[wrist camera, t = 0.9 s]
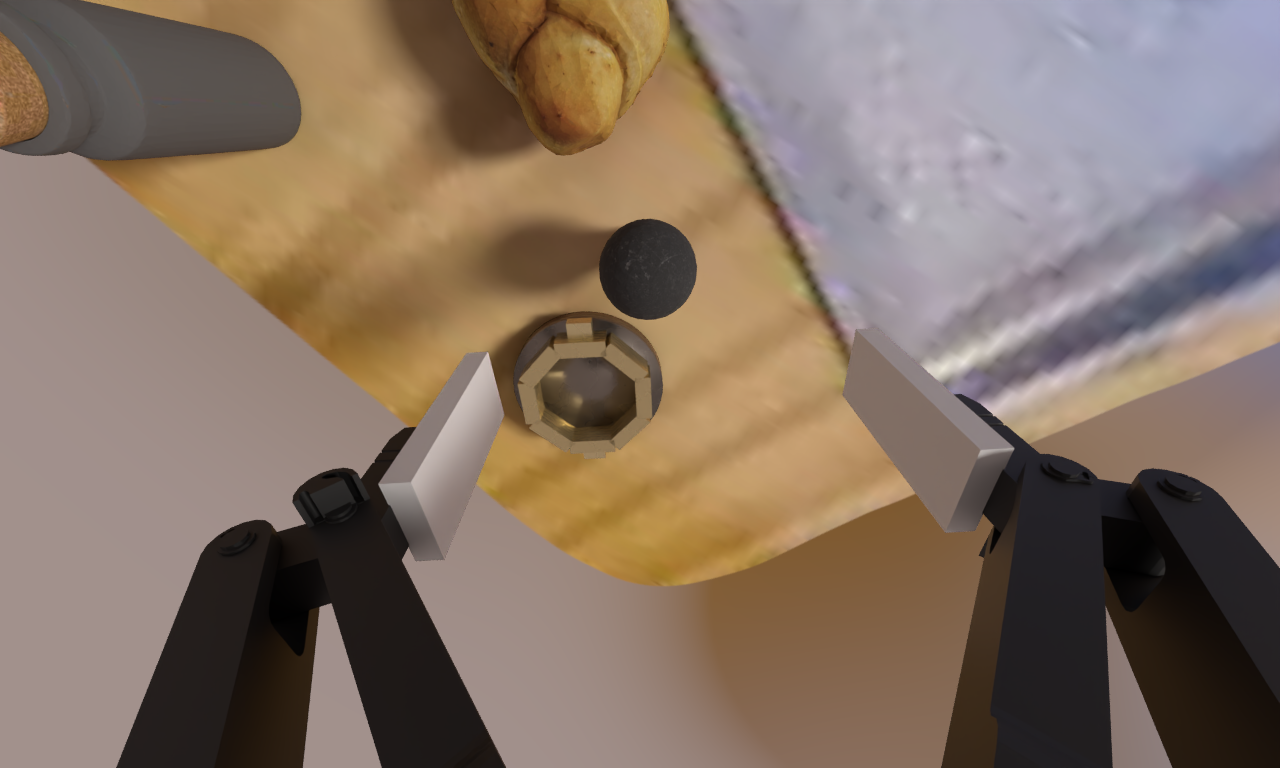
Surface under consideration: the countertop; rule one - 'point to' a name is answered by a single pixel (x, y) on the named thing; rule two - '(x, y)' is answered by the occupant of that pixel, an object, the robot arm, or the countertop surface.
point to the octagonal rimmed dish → (588, 382)
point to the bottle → (134, 85)
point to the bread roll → (569, 60)
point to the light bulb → (647, 269)
